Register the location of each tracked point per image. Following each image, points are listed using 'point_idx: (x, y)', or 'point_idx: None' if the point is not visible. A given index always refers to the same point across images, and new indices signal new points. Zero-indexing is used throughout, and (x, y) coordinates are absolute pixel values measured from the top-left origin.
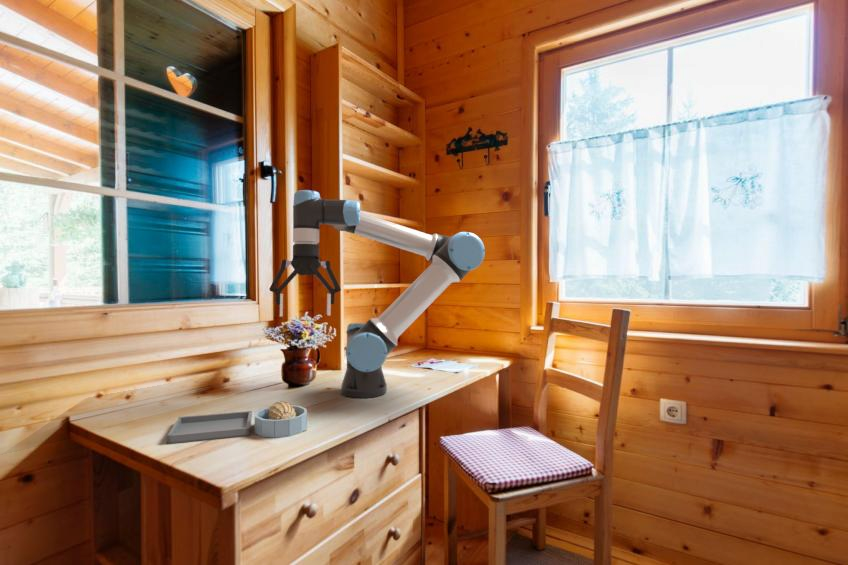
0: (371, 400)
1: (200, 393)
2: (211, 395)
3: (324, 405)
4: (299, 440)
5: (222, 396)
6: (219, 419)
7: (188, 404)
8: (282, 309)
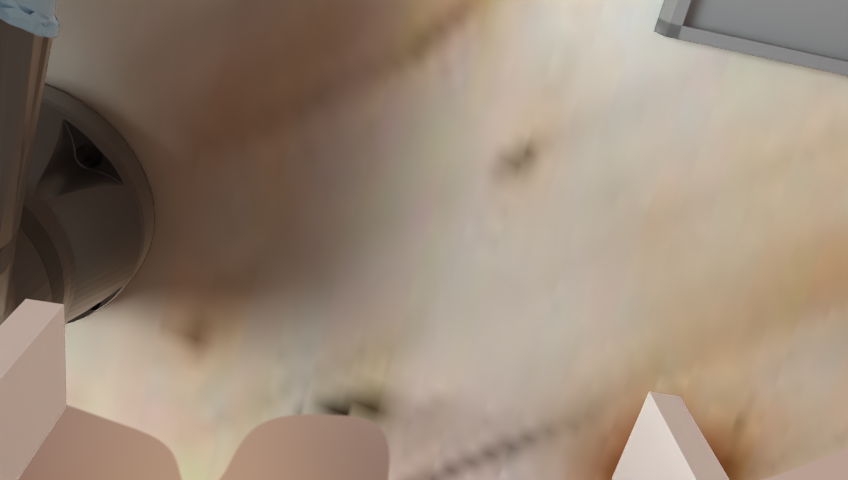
0: None
1: None
2: None
3: (286, 59)
4: None
5: None
6: (790, 47)
7: (803, 343)
8: (685, 455)
